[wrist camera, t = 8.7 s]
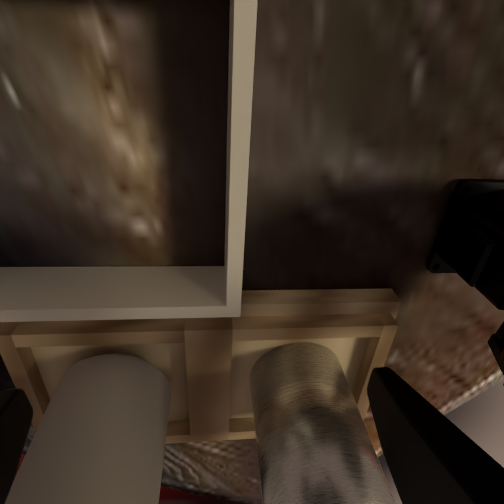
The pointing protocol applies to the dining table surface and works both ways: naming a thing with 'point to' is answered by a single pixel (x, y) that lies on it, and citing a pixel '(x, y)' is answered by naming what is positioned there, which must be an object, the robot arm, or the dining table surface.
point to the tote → (158, 277)
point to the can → (99, 436)
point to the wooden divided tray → (211, 352)
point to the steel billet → (311, 431)
